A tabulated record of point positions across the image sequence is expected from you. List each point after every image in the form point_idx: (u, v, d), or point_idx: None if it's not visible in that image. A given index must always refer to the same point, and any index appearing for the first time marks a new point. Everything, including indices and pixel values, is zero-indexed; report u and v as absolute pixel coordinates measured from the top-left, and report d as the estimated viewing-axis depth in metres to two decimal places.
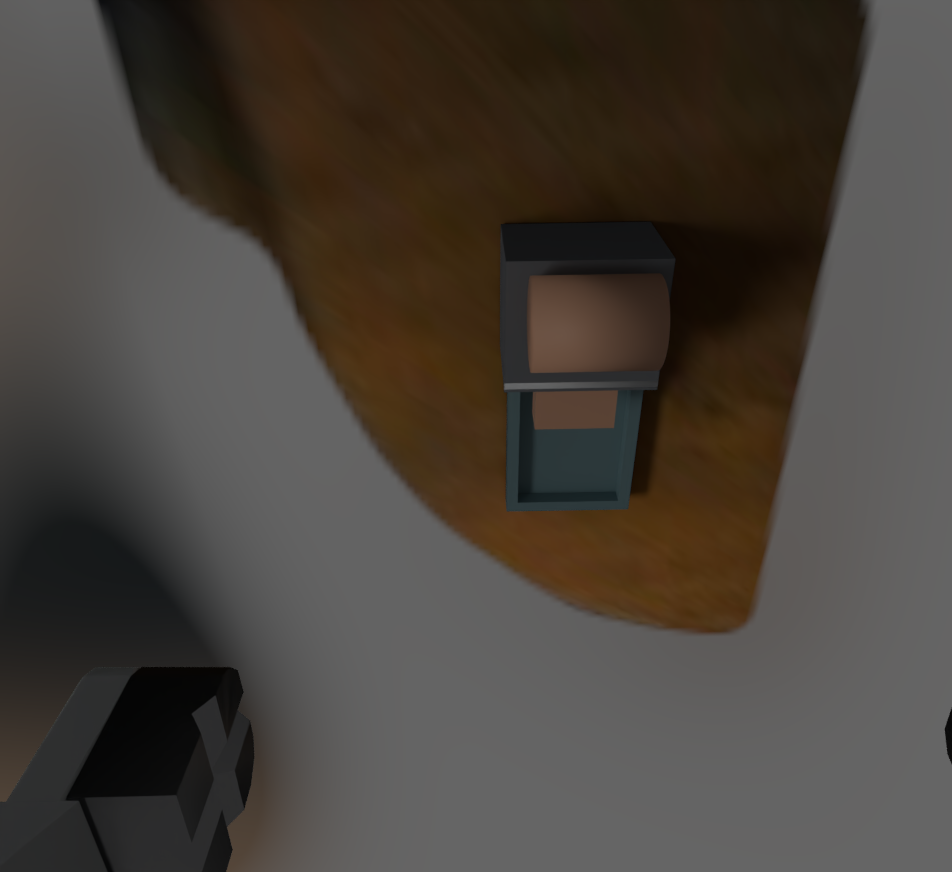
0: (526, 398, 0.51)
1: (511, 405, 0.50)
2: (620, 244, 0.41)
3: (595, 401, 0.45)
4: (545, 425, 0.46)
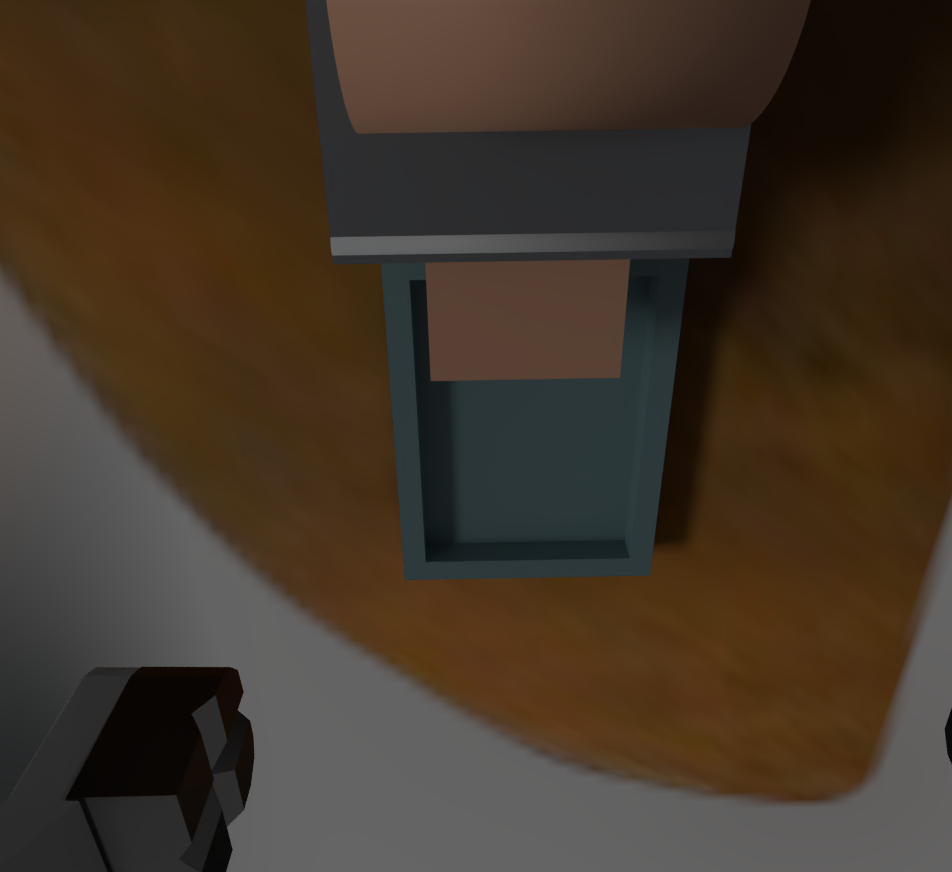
0: None
1: (394, 345, 0.23)
2: None
3: (575, 306, 0.19)
4: (455, 369, 0.19)
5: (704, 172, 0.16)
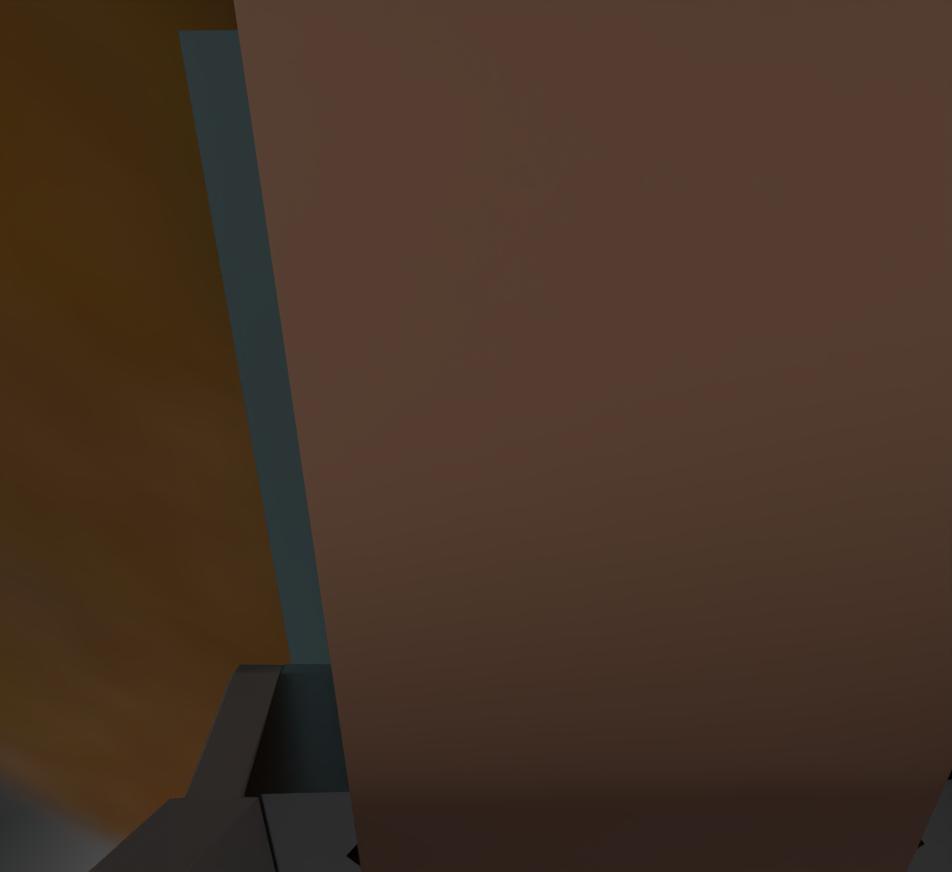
0: None
1: (252, 325, 0.08)
2: None
3: (781, 821, 0.06)
4: None
5: None
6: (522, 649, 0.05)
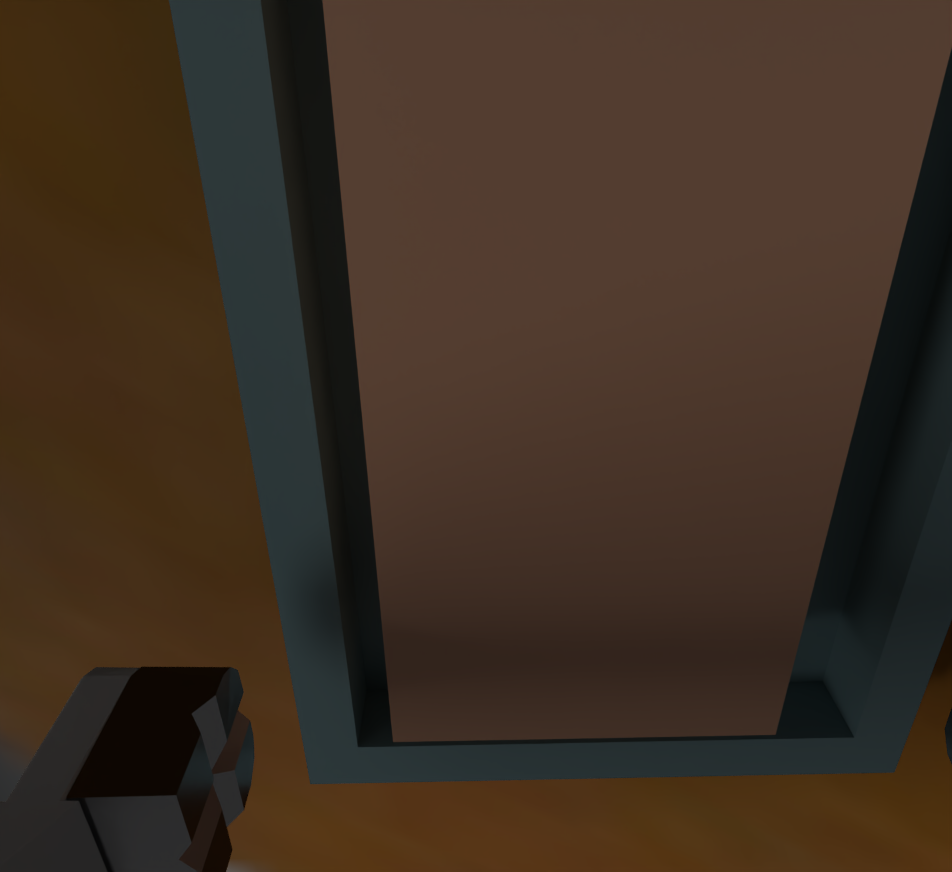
0: None
1: (219, 147, 0.07)
2: None
3: (696, 619, 0.09)
4: (441, 723, 0.09)
5: None
6: (502, 472, 0.08)
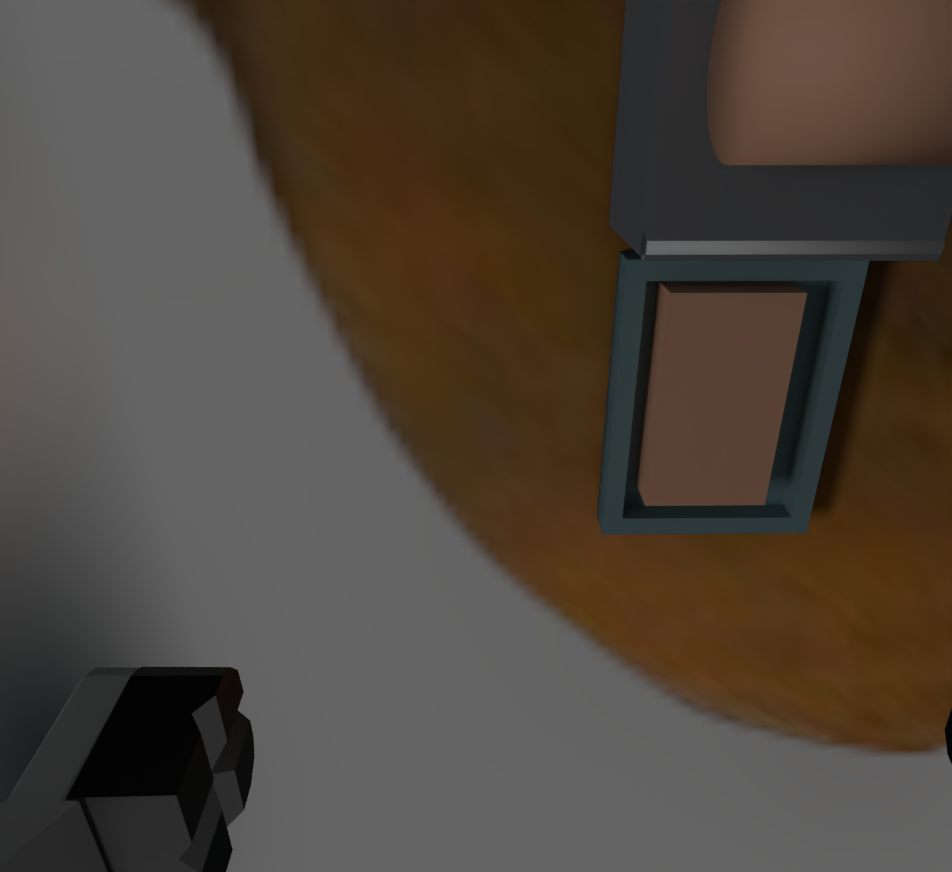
0: (647, 327, 0.29)
1: (626, 333, 0.28)
2: None
3: (741, 463, 0.30)
4: (661, 498, 0.31)
5: (927, 197, 0.22)
6: (691, 416, 0.29)
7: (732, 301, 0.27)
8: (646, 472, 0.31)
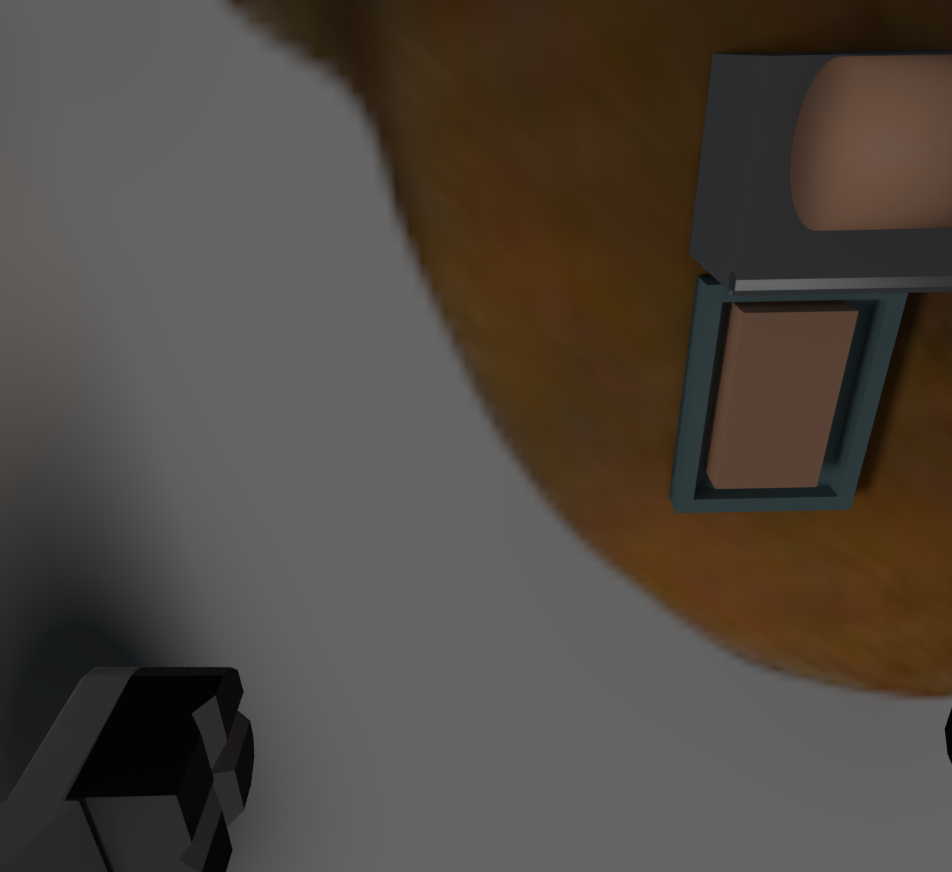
0: (719, 339, 0.35)
1: (703, 345, 0.34)
2: None
3: (798, 452, 0.35)
4: (729, 483, 0.36)
5: None
6: (757, 414, 0.34)
7: (795, 318, 0.32)
8: (716, 460, 0.36)
